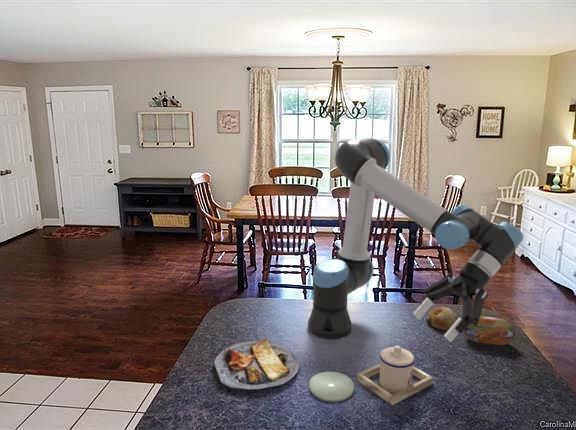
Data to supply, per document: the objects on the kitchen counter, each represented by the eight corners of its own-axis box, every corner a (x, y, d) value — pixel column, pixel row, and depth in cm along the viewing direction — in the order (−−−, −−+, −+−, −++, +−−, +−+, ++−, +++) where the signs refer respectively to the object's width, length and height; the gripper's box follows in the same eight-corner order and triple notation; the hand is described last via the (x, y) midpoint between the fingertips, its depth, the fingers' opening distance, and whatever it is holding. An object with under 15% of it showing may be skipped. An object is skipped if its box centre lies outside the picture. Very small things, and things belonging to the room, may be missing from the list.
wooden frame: (357, 380, 121) (357, 373, 121) (396, 362, 130) (396, 356, 130) (392, 405, 111) (392, 398, 111) (432, 383, 120) (432, 377, 119)
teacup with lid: (415, 396, 114) (418, 357, 112) (380, 394, 115) (382, 355, 113) (407, 370, 126) (410, 334, 123) (375, 369, 127) (377, 332, 124)
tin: (463, 340, 143) (465, 316, 141) (462, 336, 146) (464, 312, 144) (513, 347, 139) (516, 323, 137) (511, 342, 142) (514, 318, 140)
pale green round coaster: (300, 384, 120) (300, 381, 119) (334, 370, 126) (334, 366, 126) (328, 407, 110) (328, 404, 110) (363, 391, 117) (363, 387, 116)
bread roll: (446, 342, 149) (459, 325, 146) (420, 323, 153) (432, 306, 149) (453, 330, 157) (465, 313, 154) (428, 312, 161) (439, 296, 158)
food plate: (208, 352, 135) (208, 342, 134) (279, 340, 143) (279, 331, 142) (225, 404, 112) (225, 392, 112) (308, 386, 120) (309, 375, 119)
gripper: (522, 294, 112) (469, 357, 111) (455, 263, 135) (411, 315, 134) (508, 277, 109) (454, 342, 108) (442, 249, 132) (397, 302, 131)
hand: (430, 327), depth 121 cm, fingers open, 13 cm apart
